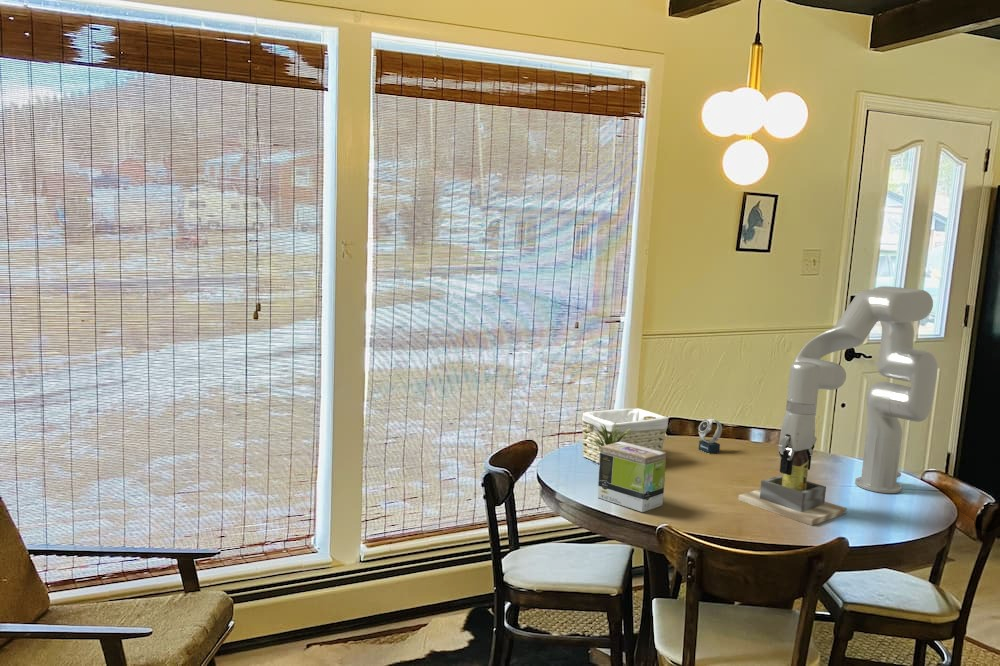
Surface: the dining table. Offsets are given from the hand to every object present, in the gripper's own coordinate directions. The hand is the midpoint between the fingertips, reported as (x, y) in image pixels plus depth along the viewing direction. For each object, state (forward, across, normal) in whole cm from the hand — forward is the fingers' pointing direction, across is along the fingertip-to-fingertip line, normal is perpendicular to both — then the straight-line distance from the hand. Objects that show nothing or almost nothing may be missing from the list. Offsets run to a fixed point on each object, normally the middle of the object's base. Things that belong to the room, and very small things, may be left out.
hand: (794, 470), depth 217 cm
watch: (+10, -26, -47) cm, 55 cm away
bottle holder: (+10, 0, 0) cm, 10 cm away
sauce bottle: (+9, 0, 0) cm, 9 cm away
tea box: (+10, +36, -26) cm, 46 cm away
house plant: (+10, +25, -46) cm, 53 cm away
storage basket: (+10, +8, -55) cm, 57 cm away
